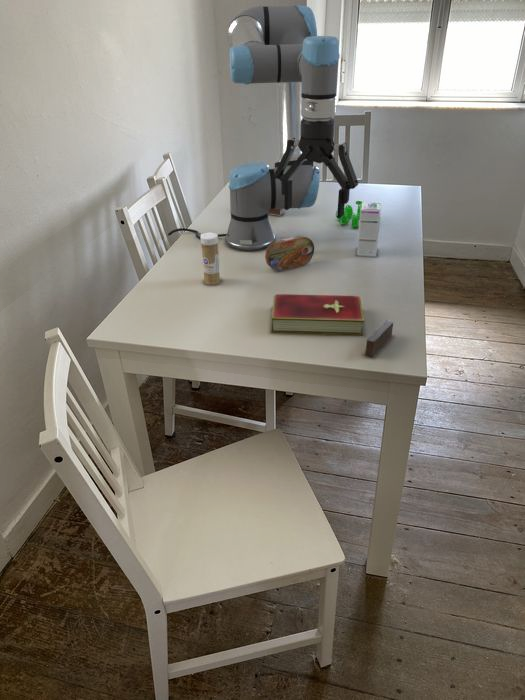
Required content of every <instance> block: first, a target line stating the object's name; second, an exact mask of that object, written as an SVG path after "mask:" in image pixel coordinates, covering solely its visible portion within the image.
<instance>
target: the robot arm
mask: <svg viewBox="0 0 525 700" xmlns="http://www.w3.org/2000/svg"><path fill="white" fill-rule="evenodd" d="M226 35H227V43H228V45H229V47H230V49H229V73H230V80H231V82H232V83H233V84H240V85H241V84H242V85H243V84H244V85H250V84H252V85H253V84H254V85H255V84H276V97H277V98H276V99H277V100H276V101H277V126H278V152H279V153H278V154H279V155H278V158H277V159H276V160H275V161H274V168H270V167H269V165H268V164H267V163H265V162H249V163H245V164H241V165H239V166H237V167H234V168H233V169H232V170H231V171H230V172H229V175H228V176H229V177H228V179H229V182H228V183H229V184H228V190H229V200H230V202H229V204H230V205H229V206H230V221H229V224H228V227H227V230H226V231H227V232H226V233H219V234H217V233H216V234H217V235H218V238H222V237H225V242H226V245H227V246H228V247H229V248H231V249H234V250H237V251H243V252H256V251H257V252H258V251H262V250H265V249H266V250H267V248H268V246H269V245H270V244H271V243H273V242H275V241H276V239H275V237H276V236H275V233H274V231H273V227H272V224H271V220H270V217H269V216H270V214H269V209H283V210H285V211H288V210H289V209H299V210H300V209H303V208H311V207H314V205H315V203H316V201H317V199H318V195H319V188H320V179H321V177H320V168H319V167H318V166H316V165H315V166H314V163H316V164H322V163H323V164H324V165H325V166H326V167H327V168H328V170H329V171H330V173H331V174H332V176H333V177H334V179H335V181H336V182H337V183H338V185H339V186H340V189H339V190H338V196H337V197H338V198H337V210H336V212H337V217H336V219H337V218H341V217H342V216H343V215H344V211H345V210H344V209H345V207H346V205H348V203H349V201H350V191H351V190H354V189H355V188H356V187H358V185H359V181H358V178H357V175H356V173H355V170H354V167H353V164H352V162H351V159H350V155H349V153H348V151H349V149H348V143H347V142H342V143H335V139H334V138H335V127H336V126H335V125H336V122H335V119H334V117H336V111H337V110H336V109H337V108H336V106H337V88H338V73H339V60H340V58H341V57H340V42H339V41H340V40H339V39H338V38H337V36H331V35H318V29H317V21H316V17H315V14H314V12H313V9H312V8H311V7H309V6H307V5H297V4H293V5H272V6H271V5H269V6H268V5H267V6H264V5H263V6H262V5H260V6H253V7H249V8H247V9H244V10H242V11H241V12H239V13H238V14H237V15H236V16H234V17H233V19H232V20H231V21H230V23H229V26H228V28H227V34H226ZM334 151H335V152H336V154H337V155H338V157H339V161H340V163H341V166H342V169H343V171H342V169H341V167H340V166H339V165H338V163H337V161H336V158H335V157H334V155H333V152H334ZM182 231H183V232H190V233H195V237H196V238H197V239H200V237H201V235H199V234H200V233H199V231H198V230H197V229H191V228H184V227H180V228H175V229H173V230H171V231H169V232H168V233H167V236H171V235H172V234H174V233H177V232H182ZM200 240H201V239H200Z"/></svg>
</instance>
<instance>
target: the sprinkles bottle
mask: <svg viewBox="0 0 525 700" xmlns="http://www.w3.org/2000/svg"><path fill="white" fill-rule="evenodd" d="M200 236H201V237H200V245H201V254H202V270H203V282H204V283H205V285H208V286H215V285H217V284H219V283H220V282H221V273H220V257H219V255H220V254H219V237H218V235H217V233H215V232H205V233H202V234H200Z"/></svg>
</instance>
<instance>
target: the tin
mask: <svg viewBox="0 0 525 700" xmlns="http://www.w3.org/2000/svg"><path fill="white" fill-rule="evenodd" d="M314 253H315V244H314V242H313V240H311V239H310V238H309V237H306V236H304V235H296V236H295V235H294V236H290V237H287V238H283V239H278V240H275V241H274V242H273V243H271V244H270V245H269V246H268V248H266V250H265V253H264V260H265V263H266V265H267V266H268V267H269V268H271V270H273V271H275V272H282V271H286V270H290V269H293V268H298V267H301V266H305V265H306V264H308V263H309V262H310V261H311V260H312V258H313V256H314Z"/></svg>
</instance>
